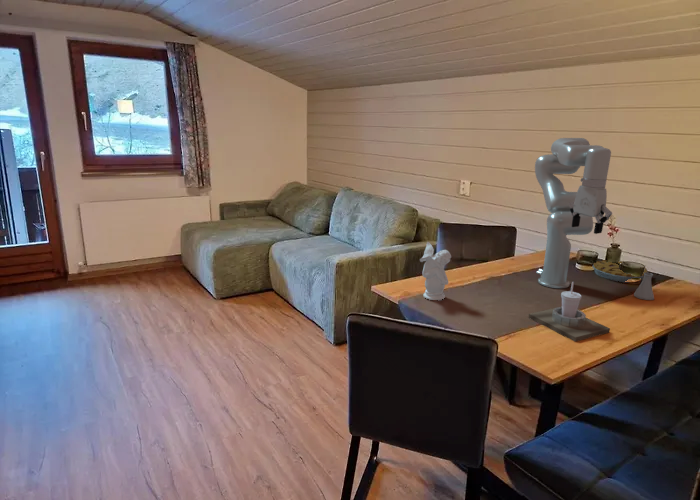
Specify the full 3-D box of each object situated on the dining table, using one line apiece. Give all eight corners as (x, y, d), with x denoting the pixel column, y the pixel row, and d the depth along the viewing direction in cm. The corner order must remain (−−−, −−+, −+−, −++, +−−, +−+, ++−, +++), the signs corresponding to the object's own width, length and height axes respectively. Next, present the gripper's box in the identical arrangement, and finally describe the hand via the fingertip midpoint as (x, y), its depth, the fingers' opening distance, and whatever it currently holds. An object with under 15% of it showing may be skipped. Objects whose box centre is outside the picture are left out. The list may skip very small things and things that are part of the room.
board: (528, 317, 165) (528, 313, 164) (560, 310, 171) (561, 306, 171) (574, 341, 147) (575, 337, 147) (609, 332, 154) (610, 328, 153)
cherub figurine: (451, 300, 181) (456, 246, 174) (427, 306, 175) (430, 251, 168) (431, 289, 191) (435, 239, 184) (407, 295, 185) (410, 243, 178)
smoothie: (576, 317, 161) (582, 280, 157) (578, 325, 155) (584, 286, 151) (557, 315, 163) (562, 278, 159) (558, 322, 157) (563, 284, 153)
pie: (611, 265, 223) (612, 255, 222) (657, 279, 205) (659, 268, 203) (581, 272, 213) (582, 262, 212) (627, 287, 195) (629, 276, 193)
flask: (657, 301, 180) (662, 277, 177) (637, 299, 181) (641, 276, 178) (650, 294, 186) (654, 271, 184) (630, 293, 188) (634, 270, 185)
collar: (545, 317, 161) (547, 309, 160) (566, 312, 165) (567, 305, 164) (569, 329, 152) (570, 321, 152) (590, 324, 156) (592, 315, 156)
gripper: (566, 180, 169) (559, 225, 174) (607, 188, 154) (599, 237, 159) (581, 179, 172) (574, 223, 177) (623, 186, 156) (614, 234, 162)
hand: (586, 229), depth 168 cm, fingers open, 9 cm apart
